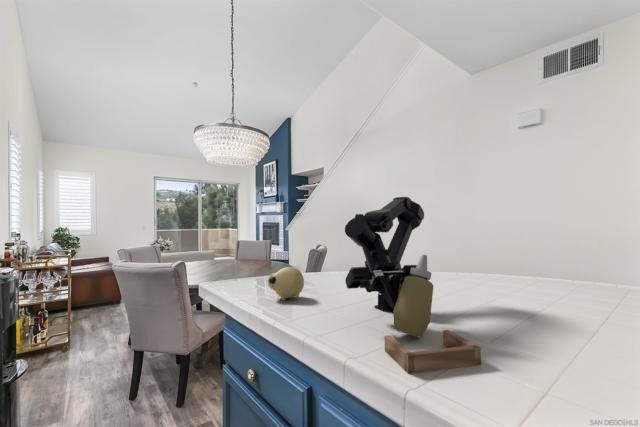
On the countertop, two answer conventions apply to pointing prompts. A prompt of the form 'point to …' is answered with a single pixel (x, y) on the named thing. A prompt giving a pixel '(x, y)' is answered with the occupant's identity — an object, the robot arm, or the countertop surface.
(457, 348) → the bay
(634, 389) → the countertop surface
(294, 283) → the beige round figure
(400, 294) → the squeeze bottle
